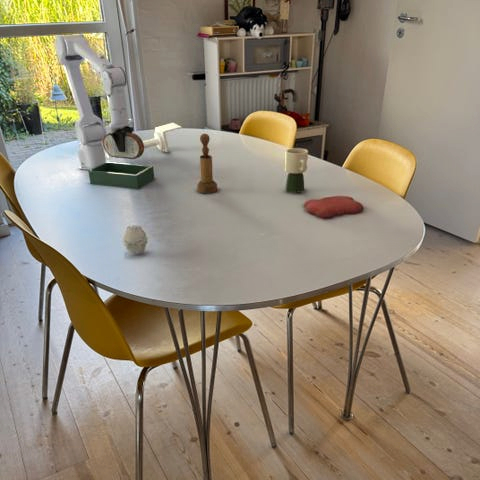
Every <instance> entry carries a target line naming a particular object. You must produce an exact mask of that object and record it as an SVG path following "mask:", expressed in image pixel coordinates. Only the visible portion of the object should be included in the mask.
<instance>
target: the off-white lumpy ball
mask: <svg viewBox="0 0 480 480" xmlns="http://www.w3.org/2000/svg"><path fill="white" fill-rule="evenodd" d="M148 241H149V239H148V236H147V233H146V232H145V230H144V229H143V228H142V226H141V225H136V224H133V225H128V226H126V230H125V232H124V234H123V238H122V243H123V245H124V247H125V249H126V251H127V252H128V253H130V254H131V255H141V254H142V253H143V252H144V251H145V249H146V246H147V244H148Z"/></svg>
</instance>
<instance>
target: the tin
mask: <svg viewBox="0 0 480 480" xmlns="http://www.w3.org/2000/svg"><path fill="white" fill-rule="evenodd" d="M143 141H144V140H142V138H141V136H139V135H138V134H136V133H135V132H132V133H126V135H125V152H119V151H118V148H117V146H116V143H115V141H114V139H113V138H112V136H111V135H110V134H109V133H107V135H105V137H104V139H103V146H104V151H105V153H106V152H107V154H108V155H110V156H111V157H113V158H116V159H126V160H136V159H138V158H140V157H142V156H143V154H144V152H145V149H144V144H143Z"/></svg>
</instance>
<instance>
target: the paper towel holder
mask: <svg viewBox="0 0 480 480" xmlns="http://www.w3.org/2000/svg"><path fill="white" fill-rule="evenodd" d="M180 129H183V127H182V126H181V125H178V124H176V122H170V123H166V124H163V125H159V126H156V127H154V130H155V132H154V134H153V136H154V138H150V139H147V140H142V141H143V144H144V150H145V149H149V148H152V147H155V146H156V147H157V149H158V150H159V151H163V152H165V153H169V152H170V151H169V150H170V148H169V143H168V139H167V134H166V133H168V132H169V133H170V132H173V131H176V130H180ZM105 156H106V157H107V159H113V158H114V157H111V156H110V155H108V154H107V152H106V151H105Z"/></svg>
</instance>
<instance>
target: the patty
mask: <svg viewBox="0 0 480 480" xmlns="http://www.w3.org/2000/svg"><path fill="white" fill-rule="evenodd" d="M303 205H304V207H305V210H306V212H307V213H309V214H310V215H314V216H316V217H317V218H320V219H332V218H334V217H341V216H344V215H355V214H360V213H361V212H363V210H364V205H363V204H362V203H361V202H359V201H357V200H355V199H354V198H353V197H352V196H348V195H333V196H326V197H323V198H319V199H314V198H313V199H307V200H306V201H305V202H304V203H303Z"/></svg>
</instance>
